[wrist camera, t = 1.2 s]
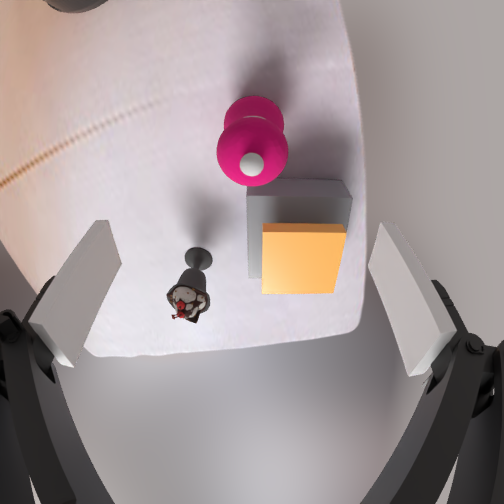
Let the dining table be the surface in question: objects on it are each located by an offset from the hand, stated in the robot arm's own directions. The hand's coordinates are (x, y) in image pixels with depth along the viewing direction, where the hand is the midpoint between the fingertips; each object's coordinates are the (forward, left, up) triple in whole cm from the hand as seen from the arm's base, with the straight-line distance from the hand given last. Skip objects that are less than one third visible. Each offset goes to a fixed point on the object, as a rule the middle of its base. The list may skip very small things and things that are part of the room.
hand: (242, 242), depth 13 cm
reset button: (+16, +6, -24) cm, 29 cm away
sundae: (+24, -10, -29) cm, 38 cm away
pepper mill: (0, 0, -29) cm, 29 cm away
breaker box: (+16, +6, -29) cm, 33 cm away
